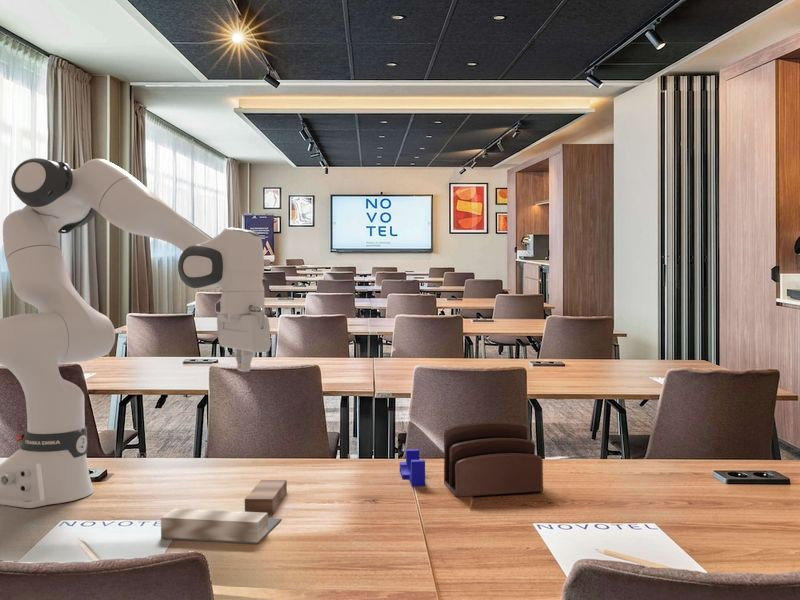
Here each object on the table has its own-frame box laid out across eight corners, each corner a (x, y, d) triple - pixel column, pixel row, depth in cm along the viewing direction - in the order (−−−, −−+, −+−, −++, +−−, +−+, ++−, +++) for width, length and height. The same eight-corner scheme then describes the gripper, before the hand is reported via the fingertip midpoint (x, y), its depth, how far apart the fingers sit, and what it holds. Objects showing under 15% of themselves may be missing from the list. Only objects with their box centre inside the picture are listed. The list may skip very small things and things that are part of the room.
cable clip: (399, 474, 174) (399, 449, 173) (418, 474, 174) (418, 449, 174) (405, 488, 162) (405, 461, 162) (425, 488, 162) (425, 461, 162)
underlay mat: (161, 538, 130) (161, 537, 130) (193, 515, 143) (193, 514, 143) (257, 543, 127) (257, 542, 127) (281, 520, 140) (281, 518, 140)
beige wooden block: (161, 537, 130) (160, 517, 130) (175, 527, 135) (175, 508, 135) (257, 542, 127) (257, 522, 127) (267, 531, 133) (267, 512, 132)
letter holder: (443, 485, 164) (443, 423, 164) (527, 480, 168) (526, 419, 168) (455, 498, 154) (455, 432, 154) (543, 492, 158) (543, 427, 158)
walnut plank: (261, 495, 158) (261, 479, 157) (286, 496, 157) (286, 479, 157) (244, 516, 144) (244, 498, 143) (272, 516, 143) (272, 499, 143)
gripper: (278, 305, 146) (278, 374, 146) (239, 304, 163) (239, 365, 163) (248, 306, 143) (249, 377, 143) (211, 304, 159) (212, 367, 160)
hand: (243, 371), depth 153 cm, fingers closed
